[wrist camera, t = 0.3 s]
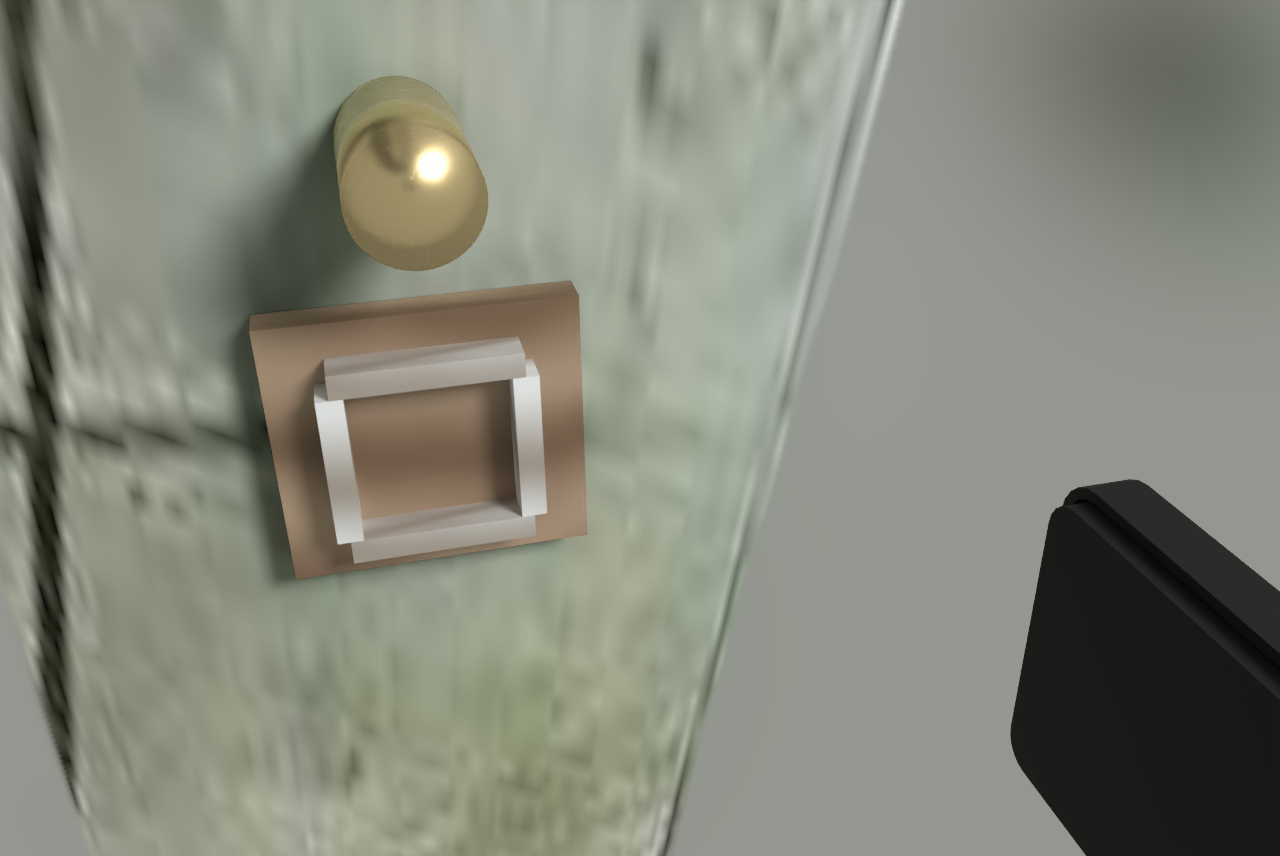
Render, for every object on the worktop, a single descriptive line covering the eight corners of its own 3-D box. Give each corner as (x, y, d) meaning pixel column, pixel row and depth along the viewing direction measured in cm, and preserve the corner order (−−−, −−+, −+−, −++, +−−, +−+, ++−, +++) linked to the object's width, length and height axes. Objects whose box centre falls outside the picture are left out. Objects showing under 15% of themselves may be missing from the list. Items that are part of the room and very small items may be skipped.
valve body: (324, 80, 40) (331, 136, 34) (454, 72, 41) (482, 124, 35) (342, 205, 42) (350, 277, 36) (465, 194, 43) (493, 263, 37)
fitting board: (250, 314, 43) (247, 349, 40) (570, 280, 46) (587, 311, 43) (296, 558, 48) (296, 602, 46) (579, 515, 51) (595, 554, 48)
